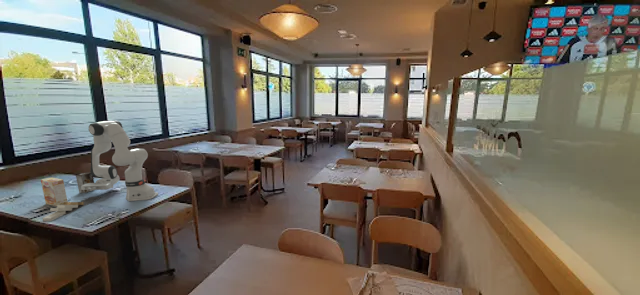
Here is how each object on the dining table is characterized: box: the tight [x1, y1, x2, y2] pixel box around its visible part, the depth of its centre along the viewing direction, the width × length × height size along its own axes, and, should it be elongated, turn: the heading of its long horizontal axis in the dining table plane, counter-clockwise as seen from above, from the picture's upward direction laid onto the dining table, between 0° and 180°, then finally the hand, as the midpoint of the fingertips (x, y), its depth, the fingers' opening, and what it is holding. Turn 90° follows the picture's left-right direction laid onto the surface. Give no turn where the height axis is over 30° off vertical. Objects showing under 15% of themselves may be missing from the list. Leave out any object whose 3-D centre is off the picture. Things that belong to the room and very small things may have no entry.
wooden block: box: [62, 201, 84, 205], centre depth 194 cm, size 5×2×11 cm
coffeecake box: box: [40, 177, 69, 207], centre depth 201 cm, size 15×7×20 cm, turn 69°
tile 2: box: [56, 204, 78, 208], centre depth 189 cm, size 5×2×11 cm
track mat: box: [63, 196, 103, 216], centre depth 199 cm, size 10×34×1 cm, turn 2°
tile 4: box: [41, 211, 66, 222], centre depth 179 cm, size 5×2×11 cm
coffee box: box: [75, 171, 95, 194], centre depth 227 cm, size 9×6×16 cm
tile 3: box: [49, 207, 72, 212], centre depth 184 cm, size 5×2×11 cm
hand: (88, 189), depth 207 cm, fingers closed
